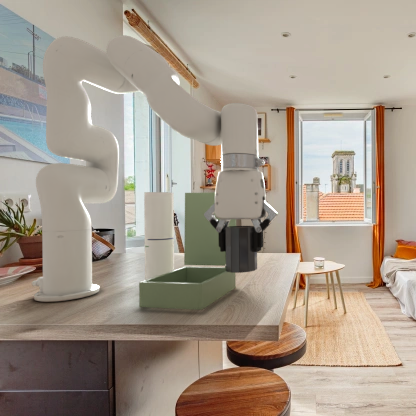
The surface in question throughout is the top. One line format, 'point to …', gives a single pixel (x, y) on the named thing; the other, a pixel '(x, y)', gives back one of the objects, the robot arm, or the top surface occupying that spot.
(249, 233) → the cup
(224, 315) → the top surface
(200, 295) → the open green box
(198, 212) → the lid
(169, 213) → the cylindrical container
